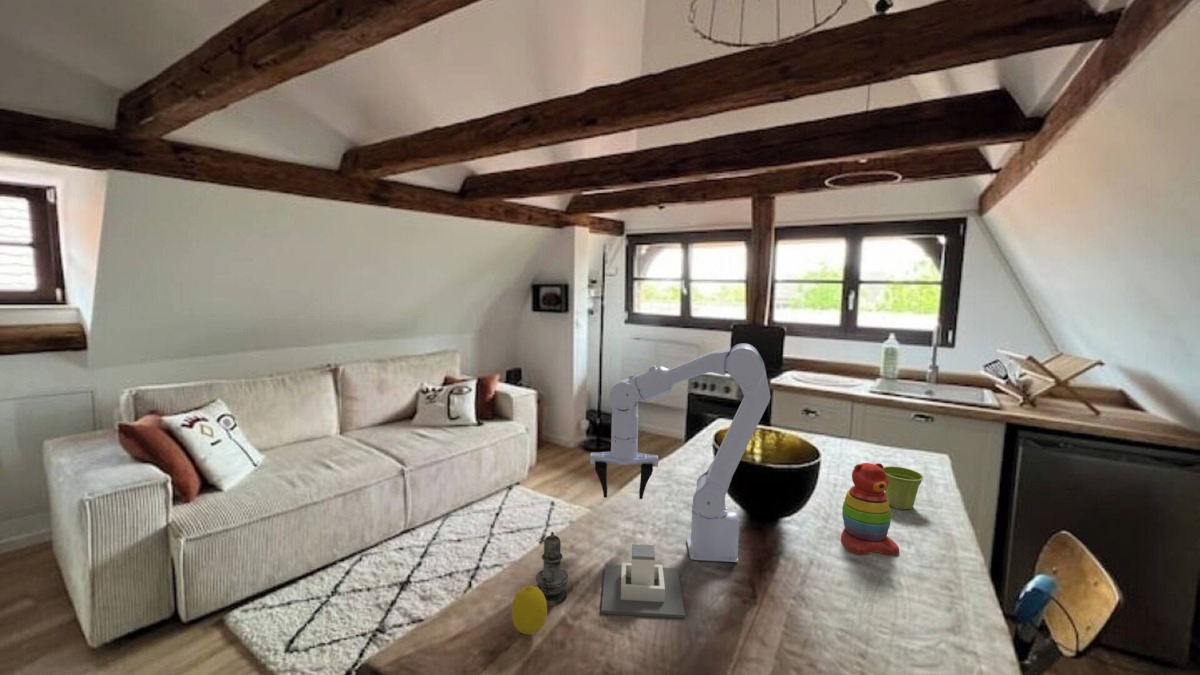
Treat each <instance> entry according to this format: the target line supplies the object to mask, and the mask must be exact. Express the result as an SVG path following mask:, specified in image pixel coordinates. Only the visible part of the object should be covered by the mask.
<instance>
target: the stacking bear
mask: <svg viewBox="0 0 1200 675" xmlns="http://www.w3.org/2000/svg"><path fill="white" fill-rule="evenodd" d="M883 467H884V465H883V464H882V463H878V462H877V463H875V464H874V463H870V462H863V463H860V464H859V463H858V464H856V465H854V467H853V470H852V473H851V480H852V483H853V485H852V487H850V489H849V490H847V492H846V495H845V497H844V501H843V505H842V511H841V512H842V514H841V515H842V521H843V526H844V528H843V530H842V532H841V535H840V541H841V543H842V545H843V546H844V547H845V548H846V549H847V550H848V551H849V552H851V553H853V554H856V555H863V556H864V555H868V554H870V553H881V554H885V555H890V556H894V555H895V556H896V555H899V553H900V547H899V546H898V544H897V542H895V541H894V540H892V538H890V537H889V536H888V533H889V529H890V526H891V522H892V521H891V520H892V512H891V505H889V501H888V499H887V498H888V497H887V495H886V493H885V490H886V488H887V487H888V484H889V480H888V477H887V475H886V473H885V471H884V470H883Z"/></svg>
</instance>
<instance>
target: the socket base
mask: <svg viewBox="0 0 1200 675" xmlns="http://www.w3.org/2000/svg"><path fill="white" fill-rule="evenodd" d="M681 587H682V586H681V580H680V575H679V569H678V568H676V567H664V566H663V564H658V563H657V564H656V563H655V569H654V586H651V585H633V584H631V562H621V564H607V563H606V564H605V568H604V577H603V589H602V599H601V610H600V612H601V614H604V615H605V614H606V615H618V616H634V617H636V616H637V617H653V618H654V617H655V618H667V619H669V618H670V619H671V618H672V619H686V612H685V607H684V600H683V593H682V588H681Z"/></svg>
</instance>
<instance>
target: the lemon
mask: <svg viewBox="0 0 1200 675" xmlns="http://www.w3.org/2000/svg"><path fill="white" fill-rule="evenodd" d="M547 616H548V605H547V603H546V599H545V596H544V594H543V592H542V591H541V590H540V589H539V587H538V586H537V587H536V586H535V585H526V586H524V587H521V589H520V590H518V591H517V592H516V594H515V595H514V598H513V600H512V605H511V619H512V622H513V625H514V627H515V629H516V630H518V632H520V633H521V634H525V635H528V636H530V635H532V634H535V633H537V632H539V631H540V630H541V629H542V627H543V626H544V625H545V622H546V620H547Z"/></svg>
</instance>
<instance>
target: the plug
mask: <svg viewBox="0 0 1200 675" xmlns="http://www.w3.org/2000/svg"><path fill="white" fill-rule="evenodd" d="M655 560H656V554H655V545H653V544H631V562H630V563H631V584H633V585H651V586H654V569H655V564H656V563H655Z"/></svg>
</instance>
